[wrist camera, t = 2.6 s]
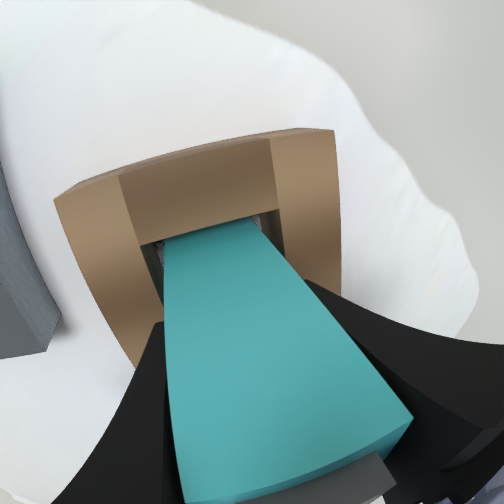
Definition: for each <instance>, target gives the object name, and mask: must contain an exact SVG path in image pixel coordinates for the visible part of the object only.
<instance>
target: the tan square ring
mask: <svg viewBox="0 0 504 504" xmlns="http://www.w3.org/2000/svg"><path fill="white" fill-rule="evenodd" d="M54 203H55V206H56V209H57V212H58V215H59V218H60V221H61V224H62V226H63V229H64V232H65V234H66V237H67V239H68V242H69V244H70V247H71V249H72V252H73V254H74V256H75V259H76V261H77V263H78V265H79V268H80V270H81V272H82V274H83V276H84V279H85V281H86V283H87V285H88V287H89V289H90V291H91V293H92V295H93V297H94V299H95V301H96V303H97V305H98V307H99V309H100V310H101V312H102V314H103V316H104V318H105V320H106V321H107V323H108V325H109V327H110V328H111V330H112V332H113V334H114V335H115V337H116V339H117V340H118V342H119V344H120V345H121V347H122V349H123V350H124V352H125V353H126V355H127V356H128V358H129V360H130V361H131V363H132V364H133V366H134V367H135V369H136V368H137V365H138V363H139V361H140V358H141V356H142V354H143V351H144V349H145V346H146V344H147V341H148V338H149V336H150V333H151V331H152V328H153V326H154V324H155V323H157V322H161V321H164V271H163V268H162V265H161V262H160V259H159V256H158V253H157V250H156V247H155V244H154V242H155V241H158V240H162V239H165V238H169V237H172V236H176V235H179V234H183V233H187V232H190V231H194V230H198V229H201V228H205V227H209V226H213V225H216V224H220V223H224V222H228V221H232V220H236V219H240V218H244V217H247V216H251V215H255V214H259V215H260V221H261V227H262V232H263V234H264V235H265V236H266V237H267V238H268V239H269V241H270V242H271V243H272V244H273V245H274V247H275V248H276V249H277V250H278V251H279V252H280V254H281V255H282V256H283V257H284V258H285V259H286V261H287V262H288V263H289V264H290V265H291V267H292V268H293V269H294V270H295V271H296V273H297V274H298V275H299V276H300V277H301V278H302V280H305V279H308V280H310V281H312V282H314V283H316V284H318V285H320V286H321V287H323V288H325V289H327V290H329V291H331V292H333V293H335V294H337V295H338V296H340V297H341V218H340V196H339V179H338V166H337V154H336V144H335V134H334V130H326V129H312V128H294V129H286V130H279V131H272V132H266V133H260V134H254V135H248V136H243V137H237V138H232V139H227V140H222V141H217V142H213V143H208V144H204V145H199V146H195V147H191V148H187V149H183V150H179V151H175V152H171V153H167V154H164V155H160V156H157V157H153V158H150V159H146V160H143V161H140V162H136V163H133V164H130V165H127V166H124V167H121V168H118V169H115V170H112V171H109V172H106V173H103V174H100V175H97V176H95V177H92V178H89V179H87V180H84V181H81V182H79V183H77V184H76V185H74V186H73V187H71V188H70V189H68V190H67V191H65V192H64V193H62V194H61V195H59V196H58V197H57V198H55V199H54Z"/></svg>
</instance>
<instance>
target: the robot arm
mask: <svg viewBox="0 0 504 504" xmlns="http://www.w3.org/2000/svg"><path fill="white" fill-rule="evenodd" d="M303 281H304V282H305V283H306V284H307V286H308V287H309V288H310V289H311V290H312V292H313V293H314V294H315V295H316V296H317V298H318V299H319V300H320V301H321V302H322V304H323V305H324V306H325V307H326V309H327V310H328V311H329V312H330V313H331V315H332V316H333V317H334V318H335V319H336V321H337V322H338V323H339V324H340V326H341V327H342V328H343V329H344V330H345V332H346V333H347V334H348V335H349V337H350V338H351V339H352V340H353V342H354V343H355V344H356V345H357V347H358V348H359V349H360V350H361V351H362V353H363V354H364V355H365V356H366V358H367V359H368V360H369V361H370V363H371V364H372V365H373V366H374V368H375V369H376V370H377V371H378V373H379V374H380V375H381V377H382V378H383V379H384V380H385V382H386V383H387V384H388V385H389V387H390V388H391V389H392V390H393V392H394V393H395V394H396V396H397V397H398V398H399V399H400V401H401V402H402V403H403V405H404V406H405V407H406V408H407V410H408V411H409V412H410V414H411V415H412V416H413V417H414V418H413V420H412V421H411V423H410V424H409V426H408V428H407V429H406V431H405V432H404V433H403V435H402V436H401V438H400V439H399V441H398V442H397V444H396V445H395V446H394V448H393V449H392V450H391V452H390V453H389V454H388V456H387V457H386V458H385V460H384V461H383V463H384V464H385V466H386V467H387V469H388V470H389V472H390V474H391V475H392V477H393V478H394V480H395V481H396V483H397V484H396V485H395V486H393V487H392V488H391V489H389V490H388V491H387V492H385V493H384V494H383V495H382V496H383V498H384V501H385V504H419V503H421V502H422V503H423V504H504V345H499V344H487V343H478V342H470V341H464V340H458V339H454V338H449V337H445V336H440V335H436V334H432V333H429V332H425V331H422V330H419V329H416V328H412V327H409V326H406V325H403V324H401V323H398V322H395V321H393V320H390V319H388V318H385V317H383V316H381V315H378V314H376V313H374V312H371V311H369V310H367V309H365V308H363V307H360V306H358V305H356V304H354V303H352V302H350V301H348V300H346V299H344V298H342V297H340V296H338V295H337V294H335V293H333V292H331V291H329V290H327V289H325V288H323V287H321V286H320V285H318V284H316V283H314V282H312V281H310V280H308V279H305V280H303ZM473 497H474V499H472V498H473ZM471 499H472V500H471ZM470 500H471V501H470ZM51 504H186V503H185V500H184V495H183V490H182V485H181V480H180V475H179V469H178V463H177V457H176V450H175V444H174V436H173V429H172V421H171V412H170V403H169V392H168V380H167V367H166V350H165V327H164V321H161V322H157V323H155V324H154V326H153V328H152V331H151V333H150V336H149V338H148V341H147V344H146V346H145V349H144V351H143V354H142V356H141V358H140V361H139V363H138V365H137V368H136V370H135V373H134V375H133V377H132V380H131V382H130V384H129V386H128V388H127V390H126V392H125V394H124V397H123V399H122V401H121V403H120V405H119V407H118V409H117V411H116V413H115V415H114V417H113V418H112V420H111V422H110V424H109V426H108V427H107V429H106V431H105V433H104V434H103V436H102V438H101V439H100V441H99V442H98V444H97V445H96V447H95V448H94V450H93V451H92V453H91V454H90V456H89V457H88V459H87V460H86V462H85V463H84V465H83V466H82V468H81V469H80V470H79V471H78V473H77V474H76V475H75V477H74V478H73V479H72V480H71V482H70V483H69V484H68V485H67V486H66V488H65V489H64V490H63V491H62V492H61V493H60V495H59V496H58V497H57V498H56V499H55V500H54V501H53V502H52V503H51Z"/></svg>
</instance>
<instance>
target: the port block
mask: <svg viewBox="0 0 504 504" xmlns="http://www.w3.org/2000/svg"><path fill="white" fill-rule="evenodd" d="M60 315H61V313H60V311H59V309H58V307H57V306H56V304H55V302H54V300H53V298H52V297H51V295H50V293H49V291H48V289H47V287H46V285H45V283H44V281H43V279H42V277H41V275H40V273H39V271H38V269H37V267H36V265H35V262H34V260H33V258H32V256H31V253H30V251H29V249H28V246H27V244H26V242H25V239H24V237H23V234H22V232H21V229H20V226H19V224H18V221H17V218H16V215H15V212H14V209H13V206H12V203H11V200H10V197H9V194H8V190H7V187H6V183H5V179H4V176H3V172H2V168H1V164H0V359H6V358H12V357H18V356H24V355H30V354H36V353H41V352H46V350H47V348H48V345H49V342H50V340H51V337H52V335H53V332H54V330H55V327H56V325H57V322H58V320H59V318H60Z"/></svg>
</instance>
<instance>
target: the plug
mask: <svg viewBox="0 0 504 504" xmlns="http://www.w3.org/2000/svg"><path fill="white" fill-rule="evenodd" d="M164 327H165V350H166V367H167V380H168V392H169V403H170V412H171V421H172V429H173V436H174V444H175V450H176V457H177V463H178V469H179V475H180V480H181V485H182V490H183V495H184V500H185V503H186V504H370V503H371V502H373V501H374V500H376V499H377V498H379V497H380V496H381V495H383V494H384V493H385V492H387V491H388V490H389V489H391V488H392V487H393V486H395V485H396V484H397V483H396V481H395V480H394V478H393V477H392V475H391V474H390V472H389V470H388V469H387V467H386V466H385V464H384V463H383V461H384V460H385V458H386V457H387V456H388V454H389V453H390V452H391V450H392V449H393V448H394V446H395V445H396V444H397V442H398V441H399V439H400V438H401V436H402V435H403V433H404V432H405V431H406V429H407V428H408V426H409V424H410V423H411V421H412V420H413V418H414V417H413V416H412V415H411V414H410V412H409V411H408V410H407V408H406V407H405V406H404V405H403V403H402V402H401V401H400V399H399V398H398V397H397V396H396V394H395V393H394V392H393V390H392V389H391V388H390V387H389V385H388V384H387V383H386V382H385V380H384V379H383V378H382V377H381V375H380V374H379V373H378V371H377V370H376V369H375V368H374V366H373V365H372V364H371V363H370V361H369V360H368V359H367V358H366V356H365V355H364V354H363V353H362V351H361V350H360V349H359V348H358V347H357V345H356V344H355V343H354V342H353V340H352V339H351V338H350V337H349V335H348V334H347V333H346V332H345V330H344V329H343V328H342V327H341V326H340V324H339V323H338V322H337V321H336V319H335V318H334V317H333V316H332V315H331V313H330V312H329V311H328V310H327V309H326V307H325V306H324V305H323V304H322V302H321V301H320V300H319V299H318V298H317V296H316V295H315V294H314V293H313V292H312V290H311V289H310V288H309V287H308V286H307V284H306V283H305V282H304V281H303V280H302V278H301V277H300V276H299V275H298V274H297V273H296V271H295V270H294V269H293V268H292V267H291V265H290V264H289V263H288V262H287V261H286V259H285V258H284V257H283V256H282V255H281V254H280V252H279V251H278V250H277V249H276V248H275V247H274V245H273V244H272V243H271V242H270V241H269V239H268V238H267V237H266V236H265V235H264V234H263V232H262V231H261V230H260V229H259V228H258V227H257V226H256V224H255V223H254V222H253V221H252V220H251V219H250V217H249V216H247V217H244V218H240V219H236V220H232V221H228V222H224V223H220V224H216V225H213V226H209V227H205V228H201V229H198V230H194V231H190V232H187V233H183V234H179V235H176V236H172V237H169V238H165V247H164Z"/></svg>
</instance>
